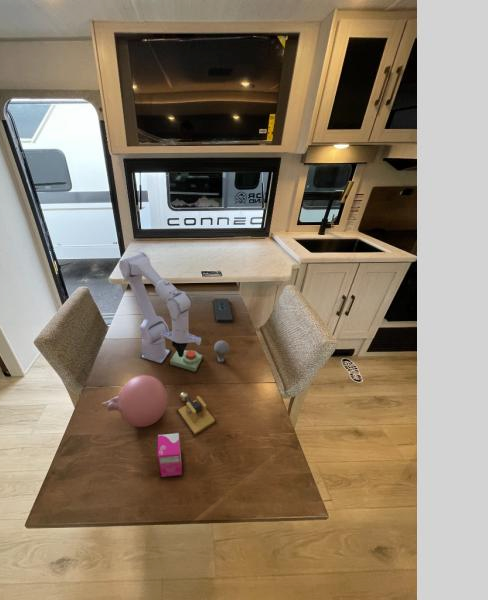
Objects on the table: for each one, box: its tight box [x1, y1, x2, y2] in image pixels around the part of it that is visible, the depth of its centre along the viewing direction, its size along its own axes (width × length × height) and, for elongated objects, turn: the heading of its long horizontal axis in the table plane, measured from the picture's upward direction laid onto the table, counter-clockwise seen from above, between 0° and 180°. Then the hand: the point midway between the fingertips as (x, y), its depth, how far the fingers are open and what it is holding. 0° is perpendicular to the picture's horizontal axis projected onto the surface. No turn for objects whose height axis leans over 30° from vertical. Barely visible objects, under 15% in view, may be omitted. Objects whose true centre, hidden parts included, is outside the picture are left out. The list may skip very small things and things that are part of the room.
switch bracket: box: [177, 395, 216, 436], centre depth 86 cm, size 10×8×7 cm
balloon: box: [101, 374, 168, 428], centre depth 84 cm, size 15×20×15 cm
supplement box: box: [157, 432, 183, 478], centre depth 72 cm, size 6×6×12 cm
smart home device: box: [213, 298, 234, 323], centre depth 140 cm, size 8×2×20 cm
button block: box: [169, 349, 203, 372], centre depth 108 cm, size 11×8×4 cm
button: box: [186, 349, 195, 360], centre depth 106 cm, size 4×4×2 cm
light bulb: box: [213, 340, 230, 363], centre depth 107 cm, size 6×6×10 cm
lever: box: [179, 391, 202, 414], centre depth 89 cm, size 11×3×3 cm, turn 34°
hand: (181, 355), depth 98 cm, fingers closed
